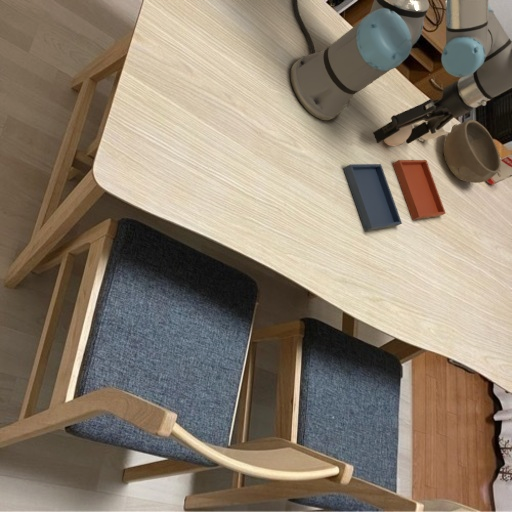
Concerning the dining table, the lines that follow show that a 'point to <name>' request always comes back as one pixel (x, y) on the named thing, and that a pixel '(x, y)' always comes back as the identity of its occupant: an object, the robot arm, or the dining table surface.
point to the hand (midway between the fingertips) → (391, 138)
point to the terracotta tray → (419, 189)
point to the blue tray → (372, 196)
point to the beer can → (503, 170)
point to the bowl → (471, 152)
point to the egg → (399, 136)
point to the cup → (440, 132)
